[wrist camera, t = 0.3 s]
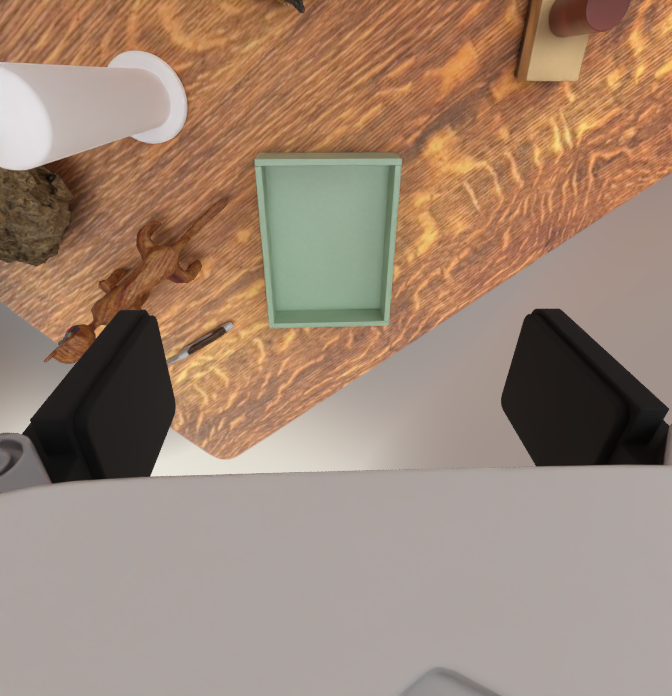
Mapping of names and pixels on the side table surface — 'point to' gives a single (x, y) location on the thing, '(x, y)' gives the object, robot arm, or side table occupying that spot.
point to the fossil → (32, 214)
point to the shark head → (294, 4)
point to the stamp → (562, 36)
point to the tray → (328, 236)
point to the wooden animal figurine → (133, 285)
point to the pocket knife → (201, 343)
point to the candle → (86, 107)
